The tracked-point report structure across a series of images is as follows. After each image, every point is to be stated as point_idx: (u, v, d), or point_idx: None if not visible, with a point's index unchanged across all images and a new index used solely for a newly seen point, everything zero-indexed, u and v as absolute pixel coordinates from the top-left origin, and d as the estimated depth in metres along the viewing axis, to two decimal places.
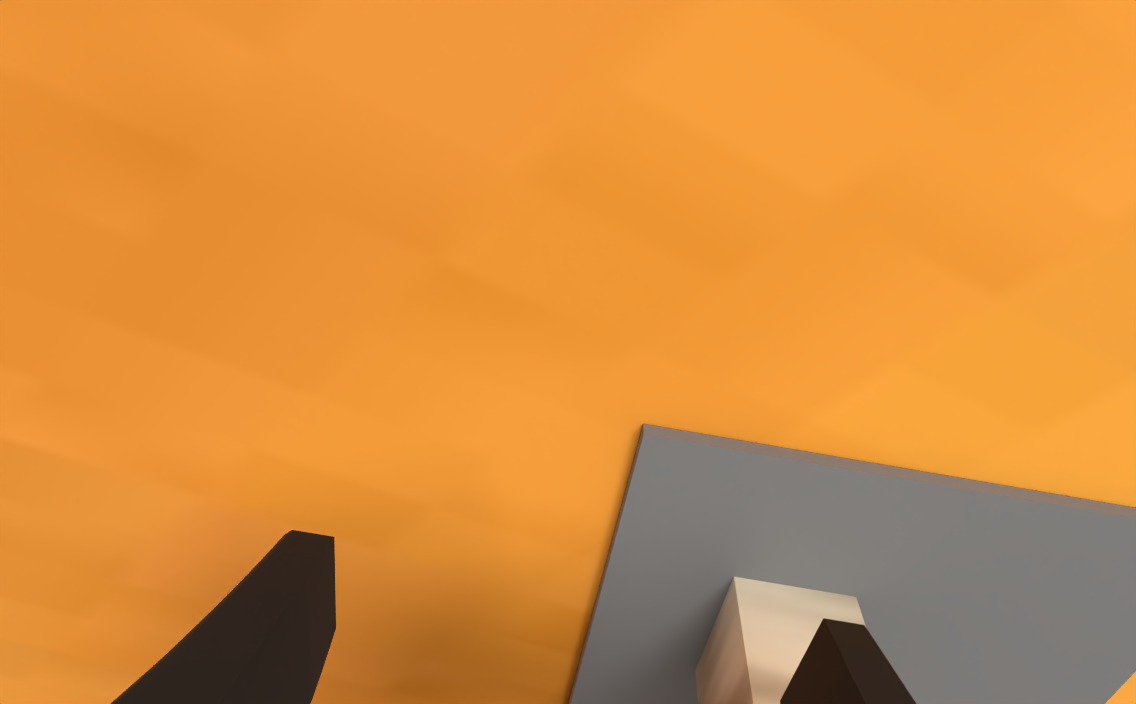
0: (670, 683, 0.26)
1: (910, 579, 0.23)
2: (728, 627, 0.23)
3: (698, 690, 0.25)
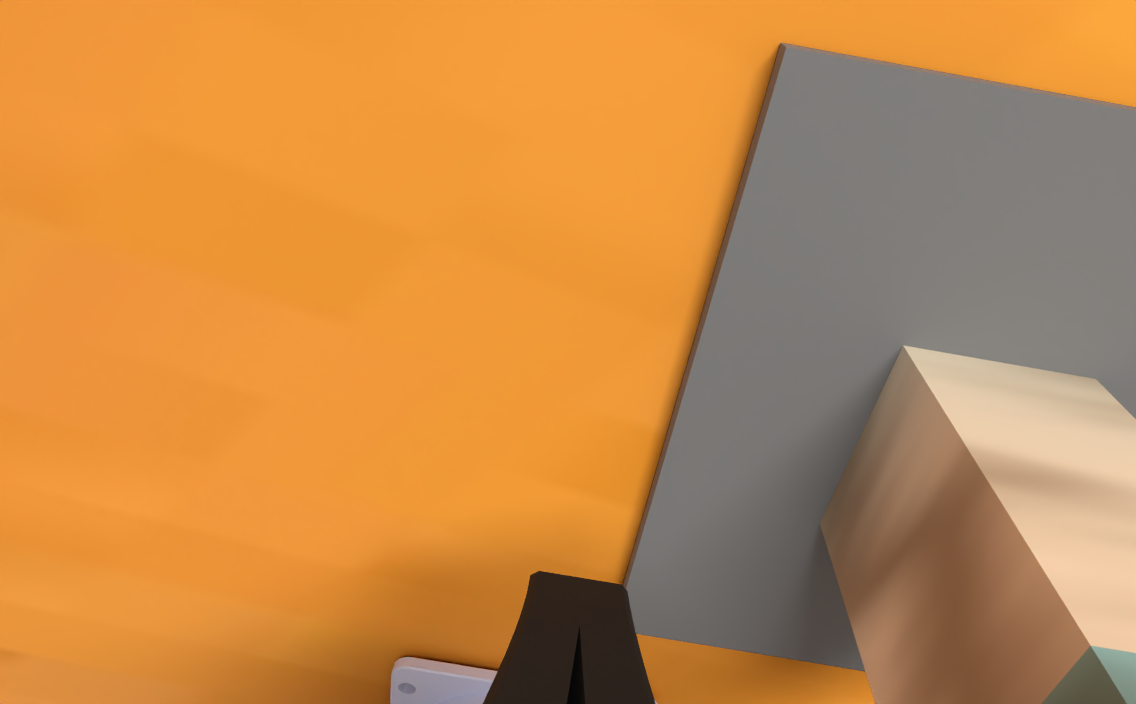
0: (779, 546, 0.18)
1: None
2: (898, 421, 0.14)
3: (831, 545, 0.16)
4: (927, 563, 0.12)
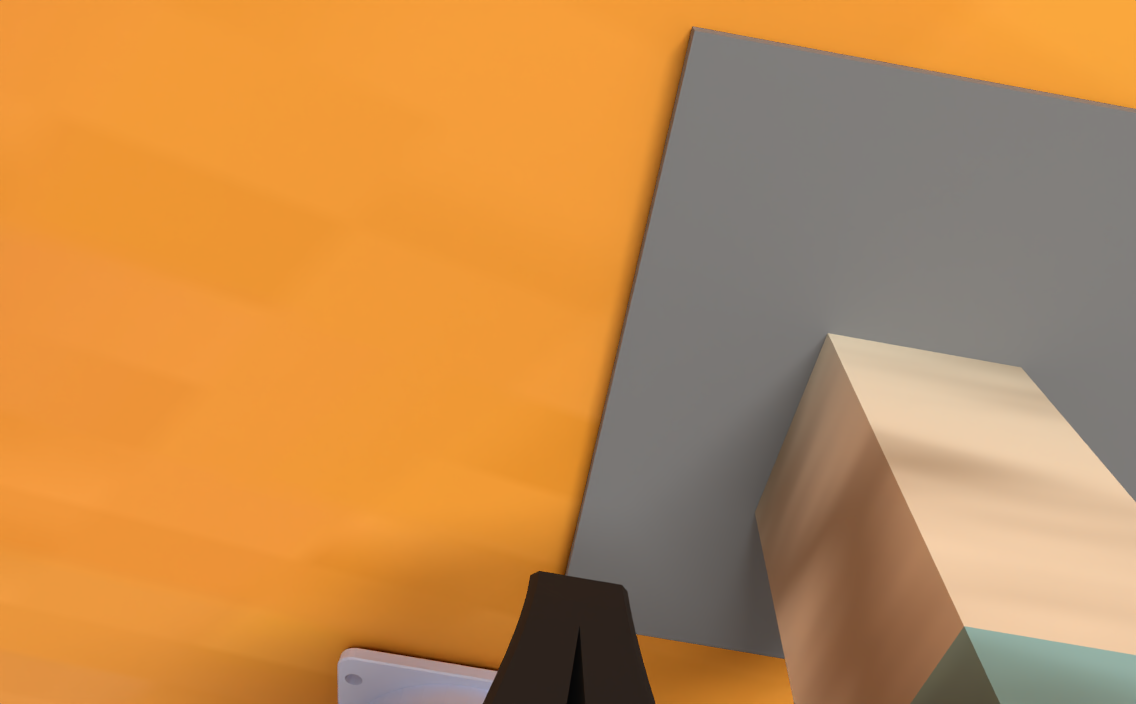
0: (716, 536, 0.18)
1: (1115, 329, 0.14)
2: (820, 409, 0.14)
3: (762, 534, 0.16)
4: (837, 549, 0.12)
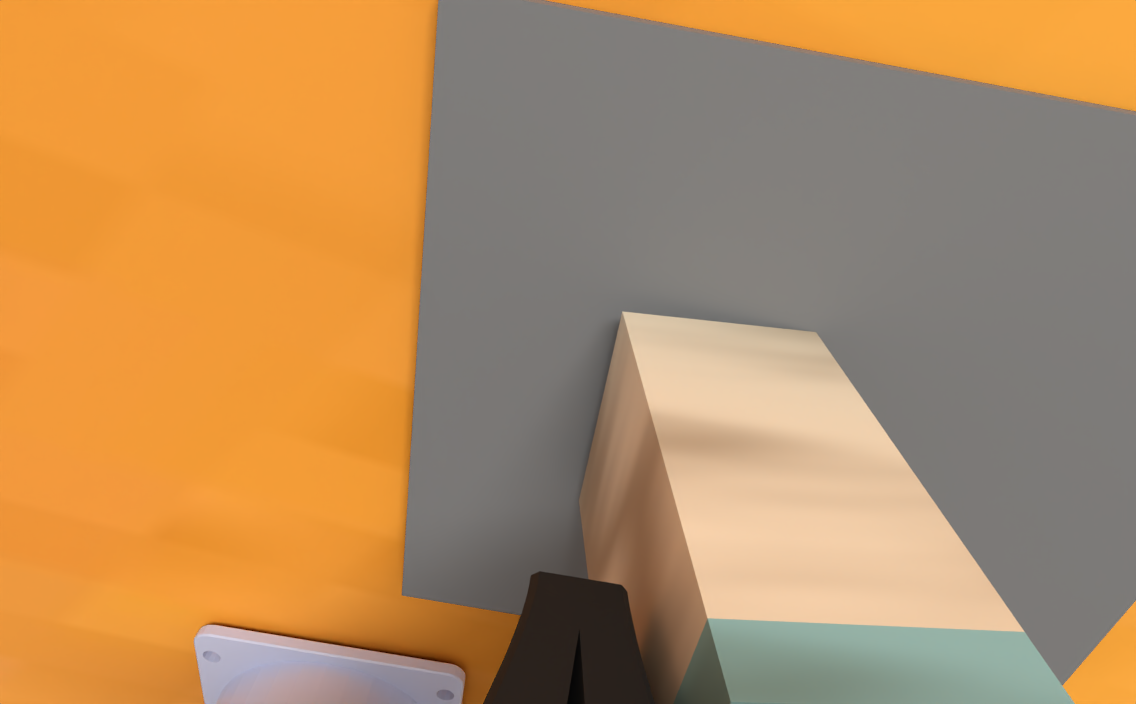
0: (544, 507, 0.18)
1: (901, 292, 0.14)
2: (617, 391, 0.14)
3: (583, 523, 0.16)
4: (629, 538, 0.12)
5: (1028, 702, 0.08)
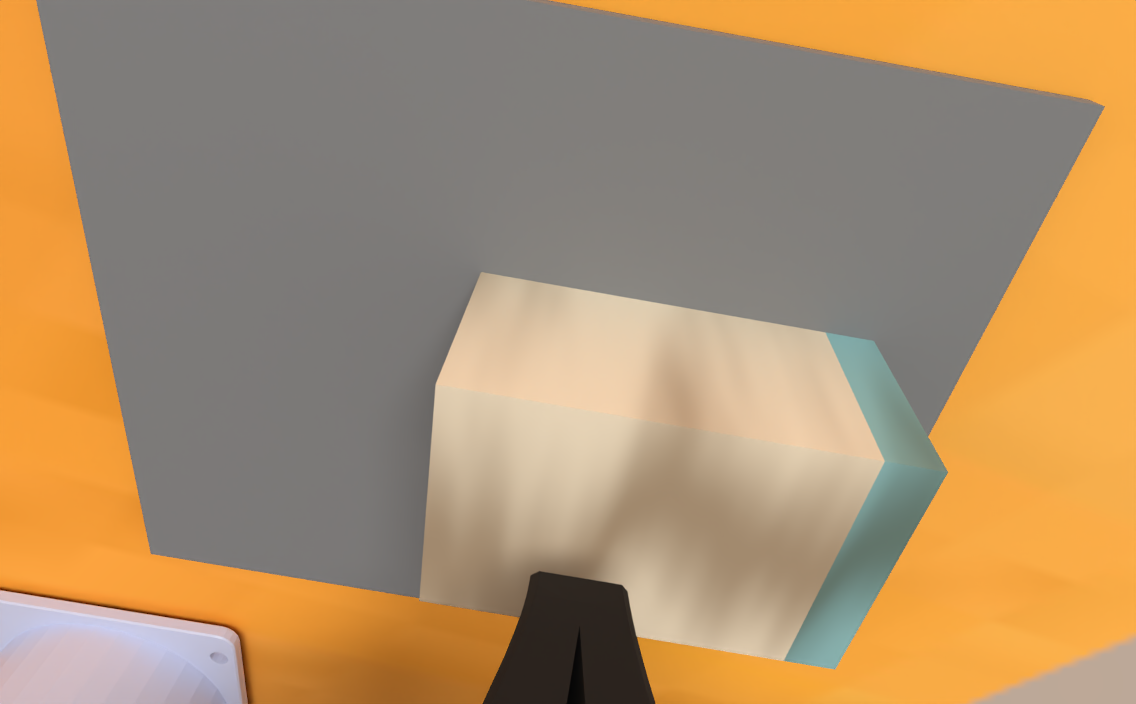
0: (265, 460, 0.18)
1: (553, 229, 0.14)
2: (498, 452, 0.12)
3: (466, 602, 0.14)
4: (654, 524, 0.12)
5: (879, 354, 0.14)
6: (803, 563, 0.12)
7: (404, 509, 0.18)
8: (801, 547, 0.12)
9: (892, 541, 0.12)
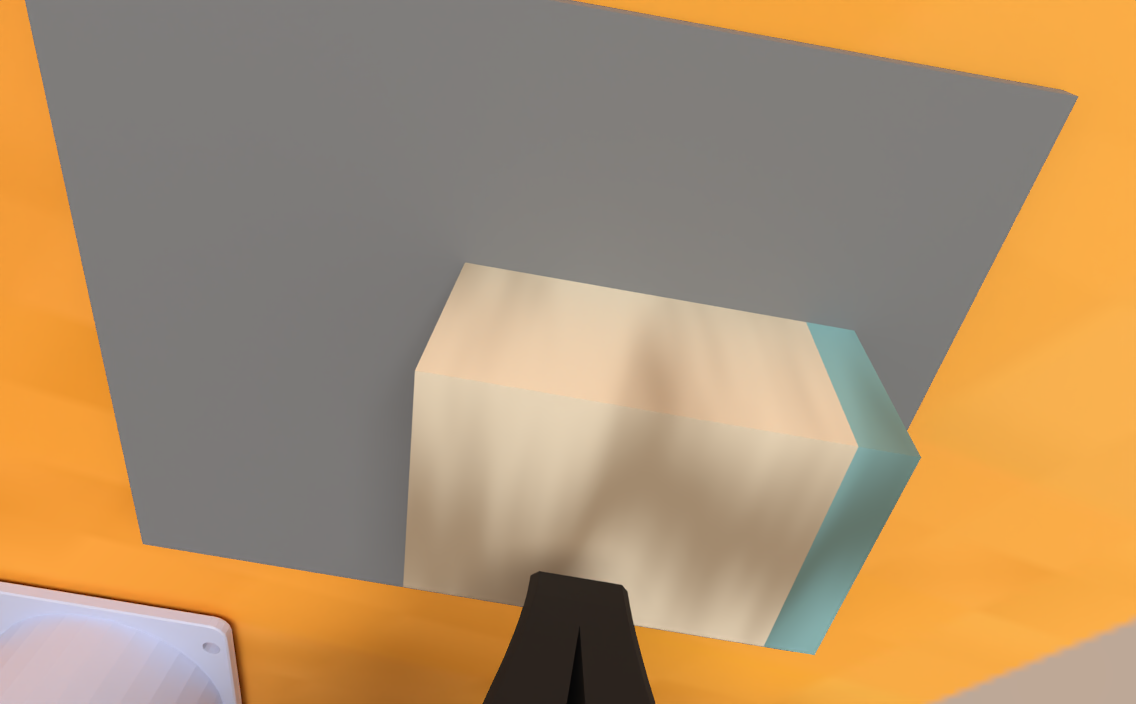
0: (254, 450, 0.18)
1: (535, 219, 0.14)
2: (477, 438, 0.12)
3: (449, 587, 0.14)
4: (633, 510, 0.12)
5: (859, 343, 0.14)
6: (781, 548, 0.13)
7: (392, 499, 0.18)
8: (778, 532, 0.12)
9: (868, 526, 0.12)
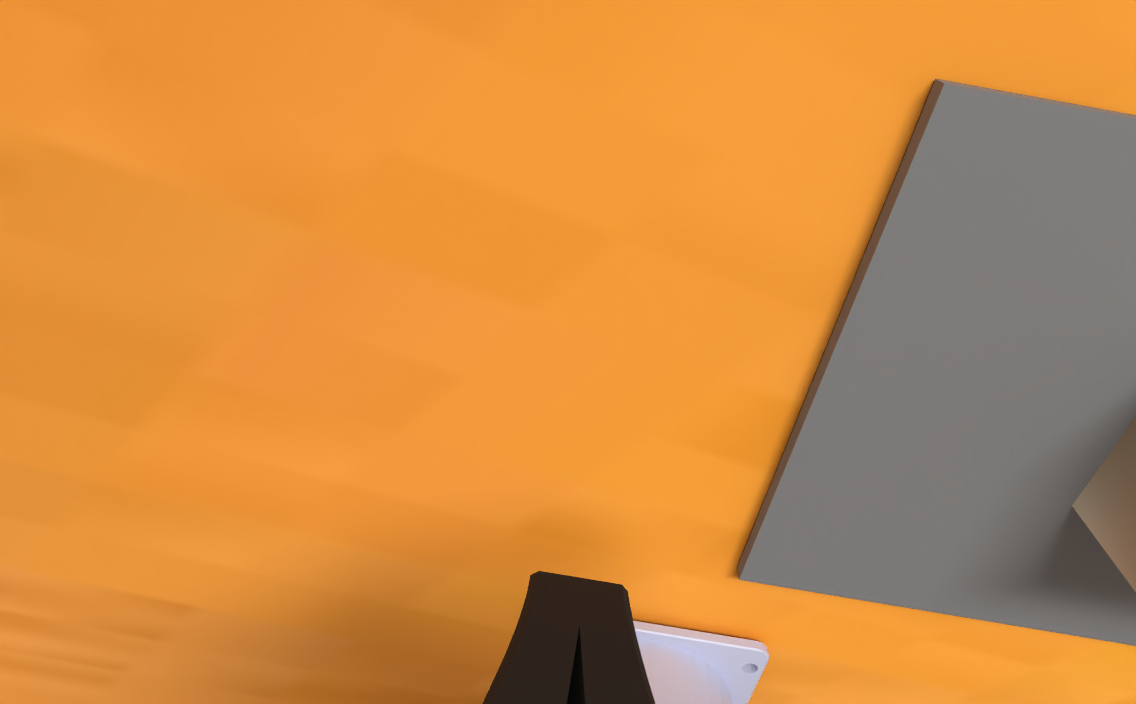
0: (893, 502, 0.21)
1: None
2: None
3: None
4: None
5: None
6: None
7: (997, 543, 0.21)
8: None
9: None
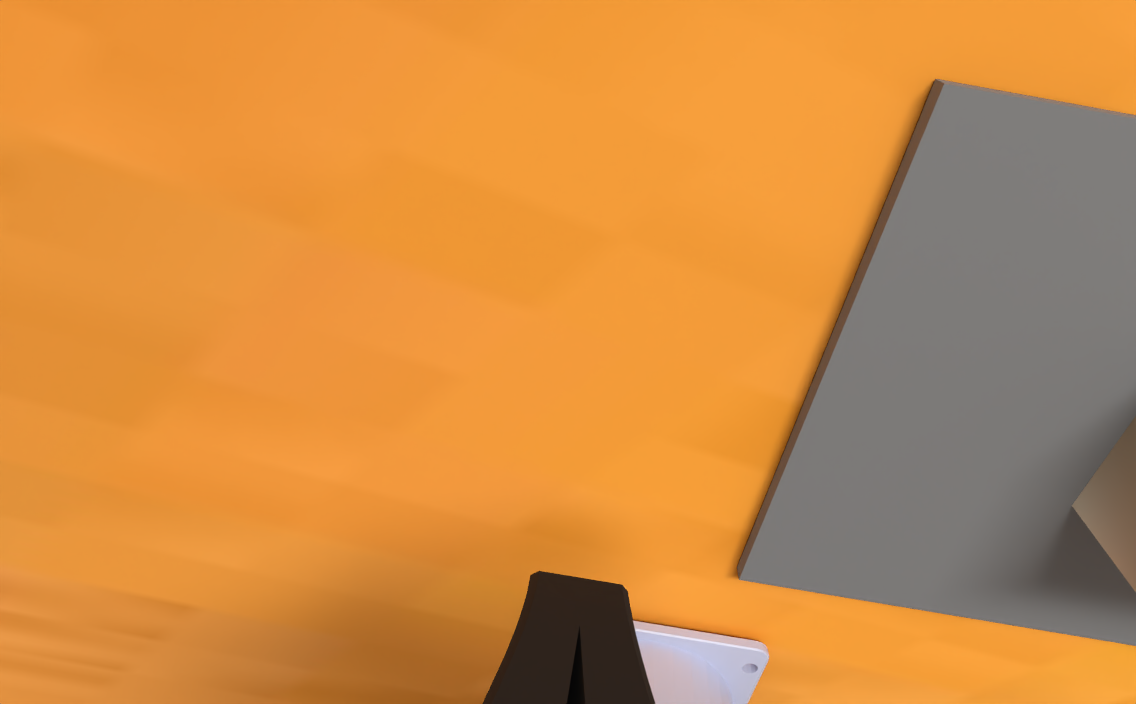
0: (893, 502, 0.21)
1: None
2: None
3: None
4: None
5: None
6: None
7: (997, 543, 0.21)
8: None
9: None
